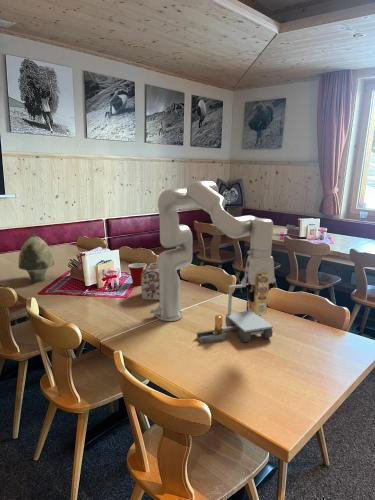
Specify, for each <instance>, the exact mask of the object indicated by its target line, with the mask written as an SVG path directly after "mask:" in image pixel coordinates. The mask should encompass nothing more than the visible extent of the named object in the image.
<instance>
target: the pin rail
mask: <svg viewBox="0 0 375 500" xmlns="http://www.w3.org/2000/svg"><path fill="white" fill-rule="evenodd" d="M213 332H215V329H211V330H204V331H199V332H196V339H197V341H199V343H200V344H208V343H213V342H220V341H224V340H225V341H226V340H227V333H226V332H223V333H221V334H215V335H213Z"/></svg>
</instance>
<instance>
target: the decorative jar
mask: <svg viewBox="0 0 375 500" xmlns="http://www.w3.org/2000/svg"><path fill="white" fill-rule="evenodd" d="M140 286H141V288H140V289H141V300H147V301H159V270H158V265H157V262H151V263H150V264H149V265H147V266H145V267H144V268H143V270H142V275H141V285H140Z"/></svg>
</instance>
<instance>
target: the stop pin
mask: <svg viewBox="0 0 375 500" xmlns="http://www.w3.org/2000/svg"><path fill="white" fill-rule="evenodd" d="M223 318H224V317H223V316H222V315H220V314H216V315H214V330H215V332H213V335H215V334H221V333H224V332H229V331H234V330H235V331H236V330H238V326H236V325H235V326H229V327H227V326H223Z"/></svg>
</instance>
